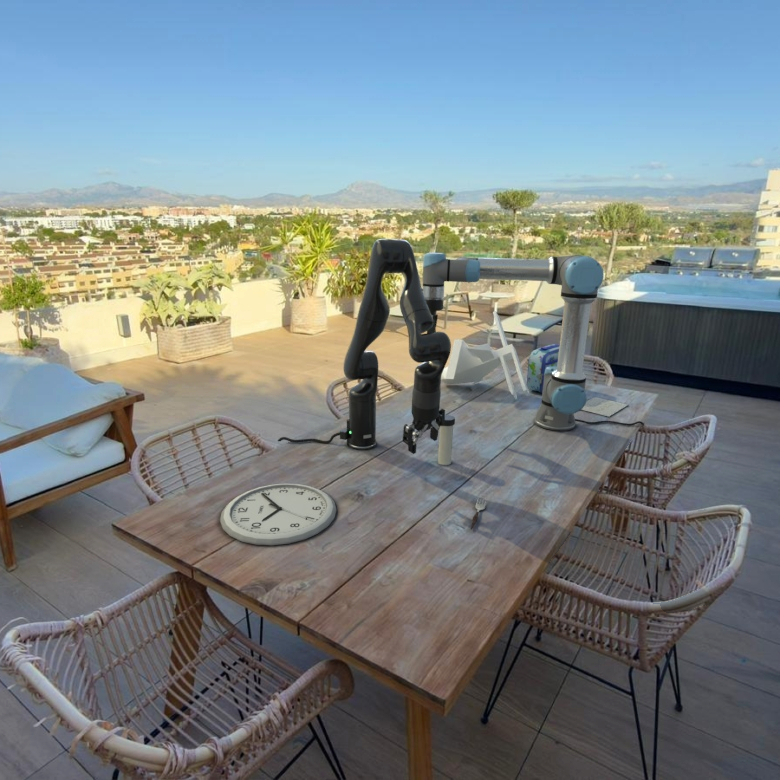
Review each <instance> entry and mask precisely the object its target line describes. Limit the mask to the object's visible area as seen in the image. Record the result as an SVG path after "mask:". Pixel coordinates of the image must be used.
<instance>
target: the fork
mask: <svg viewBox="0 0 780 780" xmlns="http://www.w3.org/2000/svg"><path fill="white" fill-rule="evenodd" d="M487 498H488V496H485V497H483V499H482V495H481V496H480V495H478V497H477V500H476V504H475V509H476V512H475V514H474V515H473V517H472V521H471V526H470V530H473V528H474V526H475V524H476V523H477V521H478V519H479V514H480V511H484V510H485V509H486V505H487Z"/></svg>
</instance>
